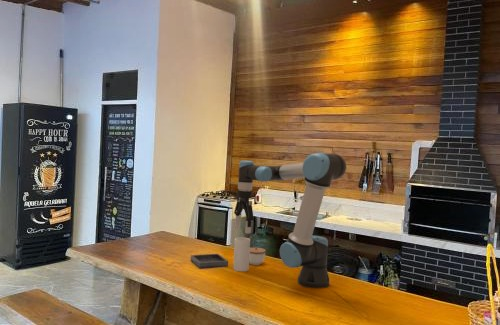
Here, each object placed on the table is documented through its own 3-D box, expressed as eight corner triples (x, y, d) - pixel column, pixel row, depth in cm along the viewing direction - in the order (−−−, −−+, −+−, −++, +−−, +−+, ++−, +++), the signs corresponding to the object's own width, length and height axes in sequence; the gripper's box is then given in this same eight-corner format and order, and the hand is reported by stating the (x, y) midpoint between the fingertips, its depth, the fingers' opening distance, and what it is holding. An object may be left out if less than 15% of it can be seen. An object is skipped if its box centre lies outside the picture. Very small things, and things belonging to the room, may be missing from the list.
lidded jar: (257, 267, 230) (258, 250, 229) (241, 263, 236) (242, 246, 236) (268, 263, 238) (269, 247, 238) (253, 259, 245) (254, 243, 244)
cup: (248, 271, 221) (250, 241, 220) (232, 270, 221) (234, 240, 220) (249, 267, 229) (250, 237, 228) (233, 266, 229) (235, 236, 228)
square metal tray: (228, 266, 228) (228, 261, 228) (199, 268, 222) (199, 263, 222) (217, 258, 243) (218, 253, 243) (190, 260, 236) (190, 255, 236)
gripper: (261, 193, 214) (259, 235, 214) (242, 187, 236) (240, 225, 237) (248, 193, 210) (245, 235, 211) (229, 187, 233) (227, 225, 234)
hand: (242, 230), depth 224 cm, fingers open, 13 cm apart
